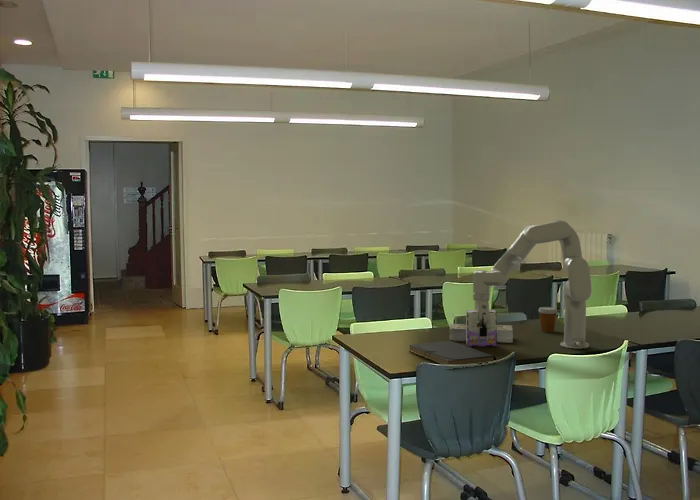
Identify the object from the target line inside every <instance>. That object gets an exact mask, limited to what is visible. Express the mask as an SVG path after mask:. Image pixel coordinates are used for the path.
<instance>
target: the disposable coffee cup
mask: <svg viewBox="0 0 700 500" xmlns="http://www.w3.org/2000/svg"><path fill="white" fill-rule="evenodd" d="M537 311H538V315H539V321H540V322H539V323H540V331H541V332H543V333H553V332H555V328H556V319H557V313H558V309H557V308H556V307H552V306H541V307H539V308H538V310H537Z"/></svg>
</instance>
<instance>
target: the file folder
mask: <svg viewBox="0 0 700 500" xmlns="http://www.w3.org/2000/svg"><path fill="white" fill-rule="evenodd" d="M410 350H412V351H414V352H416V353H419V354H422V355H424V356H427V357H430V358H431V359H435V360H438V361H440V362H442V363H445V364H467V363H478V362H486V361H493V360H496V361H497V357H496V356H494V355H492V354H489V353H487V352H483V351H480V350H478V349H475V348H472V347H471V346H467V345H464V344H461V343H459V342H457V341H449V340H445V341H444V340H443V341H435V342H424V343H421V342H420V343H416V344H409V351H410Z"/></svg>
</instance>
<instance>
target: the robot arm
mask: <svg viewBox="0 0 700 500" xmlns="http://www.w3.org/2000/svg"><path fill="white" fill-rule="evenodd" d="M580 240H581V239H580V238H579V235H578V234H577V232H576V230H575V229H574V228H573V227H572V226H571V224H569V223H568V222H567V221H565V220H561V219H554V220H551V221H550V222H547V223H543V224H529V225H528V224H527V226H525V227H524V229H523V230H522V231H521V232H520V233H519V235H518V236H517V238H516V239H515V240H514V241H513V243H512V244H510V245H511V246H509V248H508V249H507V250H506V251H505V252H504V253H503V254H502V256H501V257H500V258H499V259H498V260H497V261H496V263H495V264H494V265H493V267H491V269H490V271H488V270H481V269H479V270H478V269H477V270H474V271H473V274H472V300H473V301H474V310H475V311H477V312H478V321H479V322H480V327H481V328H480V336H487V321H488V322H489V321H490V318H489V310H490V306H489V305H490V304H489V301H490V287H495V288H501V287H504V286H505V285H506V283H507V282H508V274H509V273H510V272H511V270H512V269H513V268H514V267H515V266H516V265H518V264H520V263H521V262H523V261H524V260H525V259H526V258H527V257H528V255H529V254H530V252H531V251H532V250H533V249H534V247H535V246H536V245H538V244H544V243H545V244H547V243H551V242H556V241H558V242H559V244H560V248H561V254H562V255H561V258H562V268H563V271H564V273H565V274H566V275H567V276H568V278H567V279H568V280H567V281H566V282H565V283H564V285H563V301H564V306H563V307H564V309H563V312H564V313H563V314H564V315H563V341H561V342H560V345H559V346H561V347H563V348H567V349H572V348H573V350H575V349H576V350H583V348H584V349H588V348H589V347H590V344H589V343H588V342H586V335H587V333H586V329H587V328H586V324H587V323H586V322H587V303H586V302H587V300H589V299H590V297H591V295H592V281H591V271H590V267H589V266H590V265H589V264H588V262H587V260H586V259H585V258H583V253H582V247H581V241H580ZM481 320H483V321H481Z"/></svg>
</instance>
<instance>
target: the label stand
mask: <svg viewBox="0 0 700 500" xmlns="http://www.w3.org/2000/svg"><path fill="white" fill-rule="evenodd" d="M448 329H449V338H448V339H449V340H453V342H466V323H465V324H464V323H463V324H461V323H450V325H449V328H448ZM513 332H514V331H513V325H509V324H508V325H505V324H504V325H503V324H499V325H498V324H497V343H509V344H510V343H514V341H513V339H514V338H513V337H514V336H513V335H514V333H513ZM449 340H448V341H449Z"/></svg>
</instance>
